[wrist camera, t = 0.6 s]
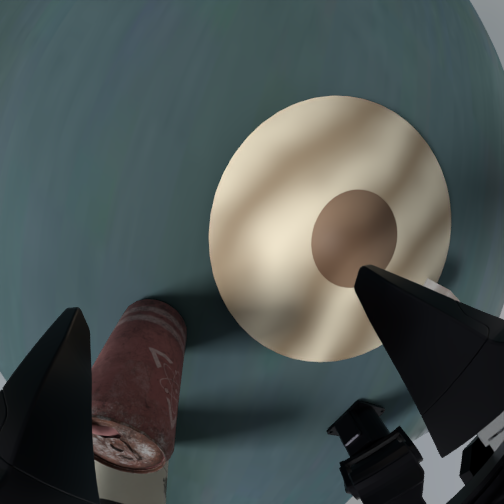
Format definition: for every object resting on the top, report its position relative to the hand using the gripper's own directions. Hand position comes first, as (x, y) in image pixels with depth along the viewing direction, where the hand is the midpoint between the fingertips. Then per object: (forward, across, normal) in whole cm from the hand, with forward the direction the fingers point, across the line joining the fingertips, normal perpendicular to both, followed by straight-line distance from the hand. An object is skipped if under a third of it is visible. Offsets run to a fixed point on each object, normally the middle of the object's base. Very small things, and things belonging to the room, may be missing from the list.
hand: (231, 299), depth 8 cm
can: (+12, +4, +13) cm, 19 cm away
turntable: (+10, -13, +5) cm, 17 cm away
